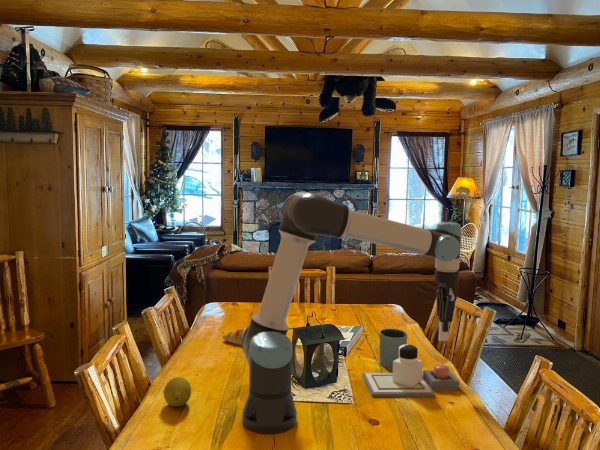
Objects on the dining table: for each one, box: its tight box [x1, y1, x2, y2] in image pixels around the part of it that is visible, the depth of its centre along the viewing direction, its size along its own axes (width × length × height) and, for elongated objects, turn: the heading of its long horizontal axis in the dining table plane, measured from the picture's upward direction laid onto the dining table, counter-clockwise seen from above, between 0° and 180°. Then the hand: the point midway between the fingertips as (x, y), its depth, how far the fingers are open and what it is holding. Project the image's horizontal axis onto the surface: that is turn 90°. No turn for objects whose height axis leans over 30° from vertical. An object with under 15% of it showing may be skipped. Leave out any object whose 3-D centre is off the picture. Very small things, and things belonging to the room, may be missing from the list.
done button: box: [433, 363, 450, 379], centre depth 161 cm, size 5×5×4 cm
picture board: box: [361, 372, 436, 398], centre depth 160 cm, size 16×20×2 cm
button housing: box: [422, 369, 460, 391], centre depth 161 cm, size 9×9×3 cm
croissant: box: [222, 328, 246, 346], centre depth 197 cm, size 21×10×8 cm, turn 87°
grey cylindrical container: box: [379, 328, 408, 370], centre depth 177 cm, size 10×10×12 cm
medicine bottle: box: [392, 343, 424, 388], centre depth 159 cm, size 7×7×12 cm
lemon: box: [163, 376, 192, 408], centre depth 142 cm, size 11×8×8 cm
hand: (443, 340), depth 160 cm, fingers closed
